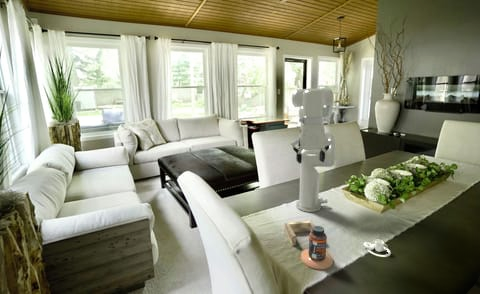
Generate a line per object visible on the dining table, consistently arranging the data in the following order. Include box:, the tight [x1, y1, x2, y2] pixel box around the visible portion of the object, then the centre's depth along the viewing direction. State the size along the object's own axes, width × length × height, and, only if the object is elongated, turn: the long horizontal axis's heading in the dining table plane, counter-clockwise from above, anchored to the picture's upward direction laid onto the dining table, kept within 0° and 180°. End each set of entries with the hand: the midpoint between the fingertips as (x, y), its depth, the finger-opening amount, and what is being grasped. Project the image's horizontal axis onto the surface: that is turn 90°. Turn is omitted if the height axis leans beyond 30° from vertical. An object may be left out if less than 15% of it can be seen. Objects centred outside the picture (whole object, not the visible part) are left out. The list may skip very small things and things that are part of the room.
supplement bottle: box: [308, 225, 328, 261], centre depth 92 cm, size 6×6×11 cm
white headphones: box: [363, 238, 392, 258], centre depth 97 cm, size 9×8×4 cm
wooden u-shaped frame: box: [284, 220, 316, 246], centre depth 107 cm, size 12×10×4 cm
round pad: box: [300, 248, 334, 271], centre depth 93 cm, size 11×11×1 cm
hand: (310, 161), depth 107 cm, fingers open, 9 cm apart
